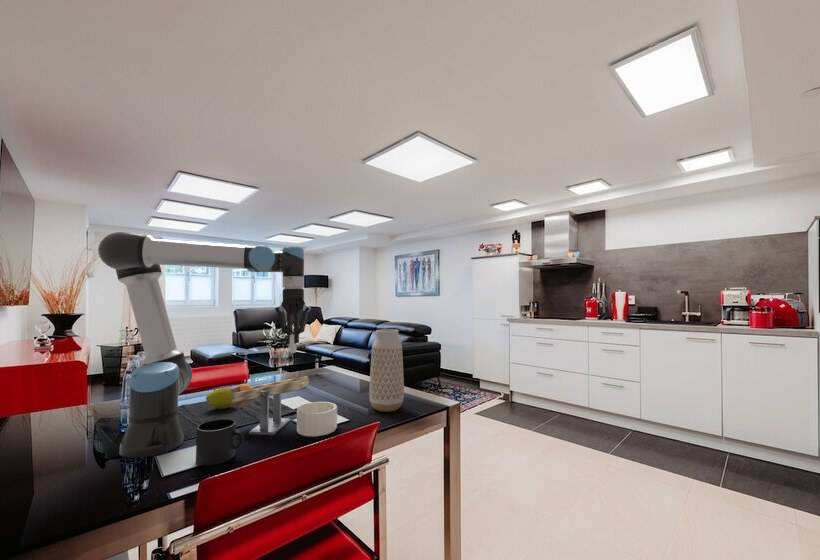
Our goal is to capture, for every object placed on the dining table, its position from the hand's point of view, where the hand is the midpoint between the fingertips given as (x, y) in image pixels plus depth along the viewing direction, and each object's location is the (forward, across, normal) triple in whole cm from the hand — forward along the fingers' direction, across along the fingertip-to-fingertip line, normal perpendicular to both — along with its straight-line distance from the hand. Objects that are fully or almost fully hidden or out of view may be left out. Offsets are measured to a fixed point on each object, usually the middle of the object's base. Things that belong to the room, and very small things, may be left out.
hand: (293, 352), depth 131 cm
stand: (+23, -4, -10) cm, 26 cm away
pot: (+24, +12, -11) cm, 29 cm away
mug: (+23, -7, -33) cm, 41 cm away
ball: (+11, -13, -10) cm, 19 cm away
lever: (+14, -3, -6) cm, 16 cm away
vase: (+24, +33, +13) cm, 43 cm away
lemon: (+23, -31, +8) cm, 40 cm away
